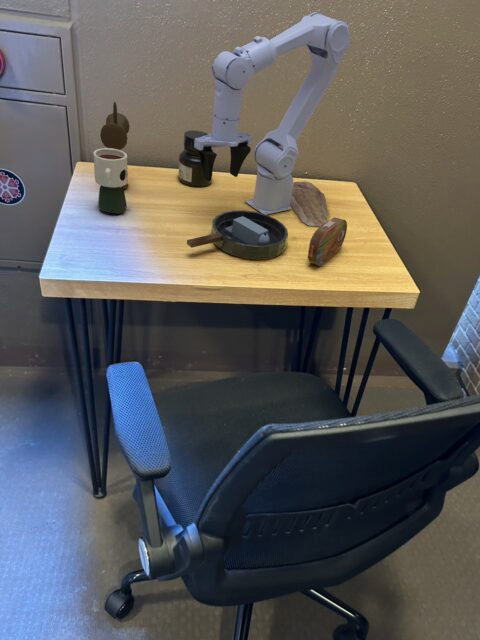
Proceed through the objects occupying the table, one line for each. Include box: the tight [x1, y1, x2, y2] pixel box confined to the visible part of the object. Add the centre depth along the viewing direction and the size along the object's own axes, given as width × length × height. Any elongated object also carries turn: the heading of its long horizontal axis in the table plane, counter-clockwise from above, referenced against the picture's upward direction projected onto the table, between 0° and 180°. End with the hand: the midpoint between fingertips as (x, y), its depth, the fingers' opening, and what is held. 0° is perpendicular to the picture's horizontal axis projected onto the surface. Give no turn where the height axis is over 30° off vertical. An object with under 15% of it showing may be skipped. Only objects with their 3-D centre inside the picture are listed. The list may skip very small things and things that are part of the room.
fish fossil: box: [290, 181, 328, 227], centre depth 142 cm, size 26×10×1 cm, turn 12°
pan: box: [211, 209, 289, 260], centre depth 120 cm, size 17×17×4 cm
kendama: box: [99, 101, 130, 190], centre depth 126 cm, size 6×10×20 cm, turn 6°
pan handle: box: [186, 233, 222, 249], centre depth 113 cm, size 8×2×1 cm, turn 129°
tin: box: [307, 216, 348, 267], centre depth 119 cm, size 15×3×8 cm, turn 148°
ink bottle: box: [178, 130, 212, 187], centre depth 139 cm, size 10×9×12 cm
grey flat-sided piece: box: [224, 216, 270, 246], centre depth 120 cm, size 12×4×4 cm, turn 49°
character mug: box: [92, 147, 129, 214], centre depth 118 cm, size 11×7×13 cm, turn 5°
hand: (220, 177), depth 123 cm, fingers open, 7 cm apart
